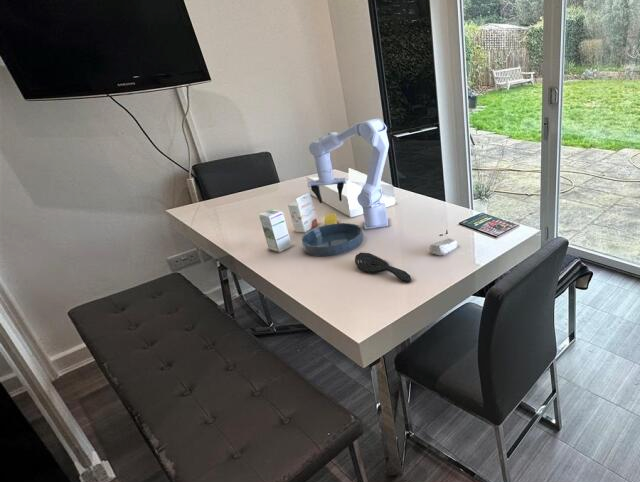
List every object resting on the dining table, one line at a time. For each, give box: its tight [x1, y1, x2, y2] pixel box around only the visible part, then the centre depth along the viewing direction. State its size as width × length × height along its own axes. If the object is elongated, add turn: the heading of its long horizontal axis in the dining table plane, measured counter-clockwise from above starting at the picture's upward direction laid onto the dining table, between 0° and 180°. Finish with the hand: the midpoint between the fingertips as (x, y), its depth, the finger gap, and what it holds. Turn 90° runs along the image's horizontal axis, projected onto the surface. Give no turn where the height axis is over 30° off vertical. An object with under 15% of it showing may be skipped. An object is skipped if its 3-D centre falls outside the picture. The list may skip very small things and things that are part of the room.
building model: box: [306, 167, 396, 218], centre depth 199 cm, size 45×22×10 cm, turn 46°
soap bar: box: [429, 237, 458, 256], centre depth 148 cm, size 10×6×6 cm, turn 134°
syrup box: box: [258, 209, 292, 253], centre depth 149 cm, size 6×6×14 cm
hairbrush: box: [354, 251, 412, 283], centre depth 135 cm, size 8×4×25 cm
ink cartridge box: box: [287, 191, 318, 233], centre depth 166 cm, size 9×5×15 cm, turn 168°
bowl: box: [301, 222, 364, 257], centre depth 154 cm, size 21×21×4 cm
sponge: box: [323, 212, 338, 226], centre depth 170 cm, size 4×7×4 cm, turn 19°
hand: (330, 201), depth 171 cm, fingers open, 7 cm apart
